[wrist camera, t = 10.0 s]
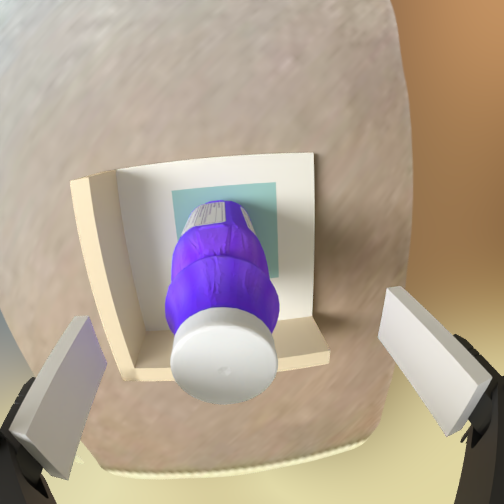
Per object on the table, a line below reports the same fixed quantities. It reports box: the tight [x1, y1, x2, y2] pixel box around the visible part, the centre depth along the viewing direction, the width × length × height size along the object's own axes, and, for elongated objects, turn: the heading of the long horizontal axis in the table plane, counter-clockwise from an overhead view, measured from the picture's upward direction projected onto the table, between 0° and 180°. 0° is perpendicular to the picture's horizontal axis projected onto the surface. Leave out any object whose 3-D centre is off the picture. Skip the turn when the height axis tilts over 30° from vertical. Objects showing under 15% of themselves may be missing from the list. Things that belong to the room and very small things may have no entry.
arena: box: [70, 153, 330, 381], centre depth 25 cm, size 18×19×7 cm
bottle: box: [165, 200, 280, 404], centre depth 19 cm, size 7×6×17 cm
